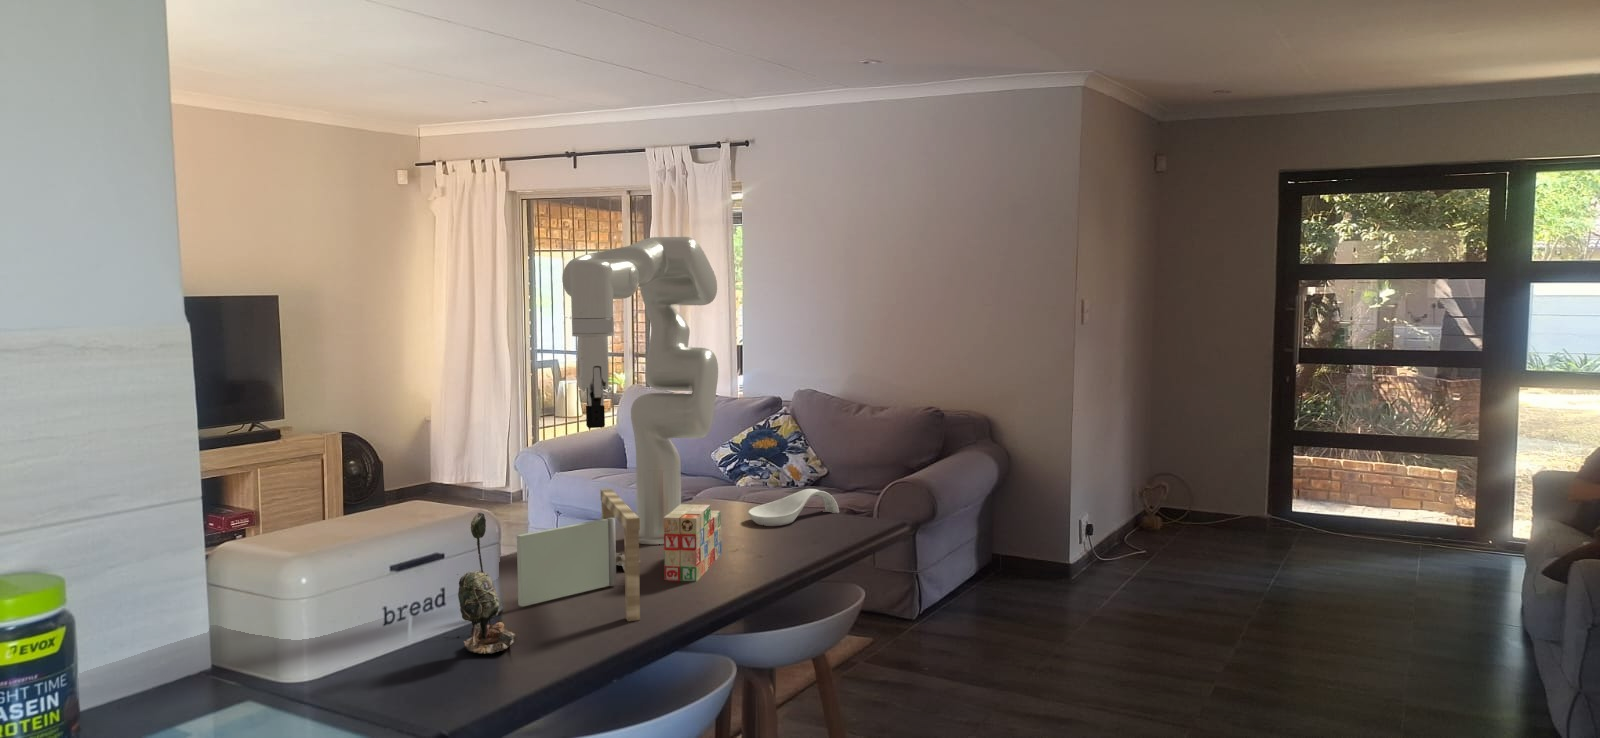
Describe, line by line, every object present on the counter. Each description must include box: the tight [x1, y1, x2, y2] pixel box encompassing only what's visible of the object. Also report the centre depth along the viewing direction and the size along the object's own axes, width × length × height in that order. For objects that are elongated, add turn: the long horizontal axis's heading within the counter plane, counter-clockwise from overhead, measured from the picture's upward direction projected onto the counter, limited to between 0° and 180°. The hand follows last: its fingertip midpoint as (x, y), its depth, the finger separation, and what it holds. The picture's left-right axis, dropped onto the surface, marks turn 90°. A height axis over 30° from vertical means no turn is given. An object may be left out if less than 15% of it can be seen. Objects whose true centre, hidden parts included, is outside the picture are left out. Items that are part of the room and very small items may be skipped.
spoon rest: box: [747, 488, 840, 527], centre depth 253 cm, size 24×12×7 cm, turn 129°
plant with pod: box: [456, 512, 516, 654], centre depth 163 cm, size 8×11×20 cm
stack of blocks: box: [663, 503, 722, 582], centre depth 211 cm, size 21×6×12 cm, turn 172°
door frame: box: [599, 488, 641, 622], centre depth 188 cm, size 28×2×17 cm, turn 19°
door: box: [516, 517, 617, 607], centre depth 190 cm, size 20×2×12 cm, turn 137°
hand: (595, 426), depth 201 cm, fingers closed
